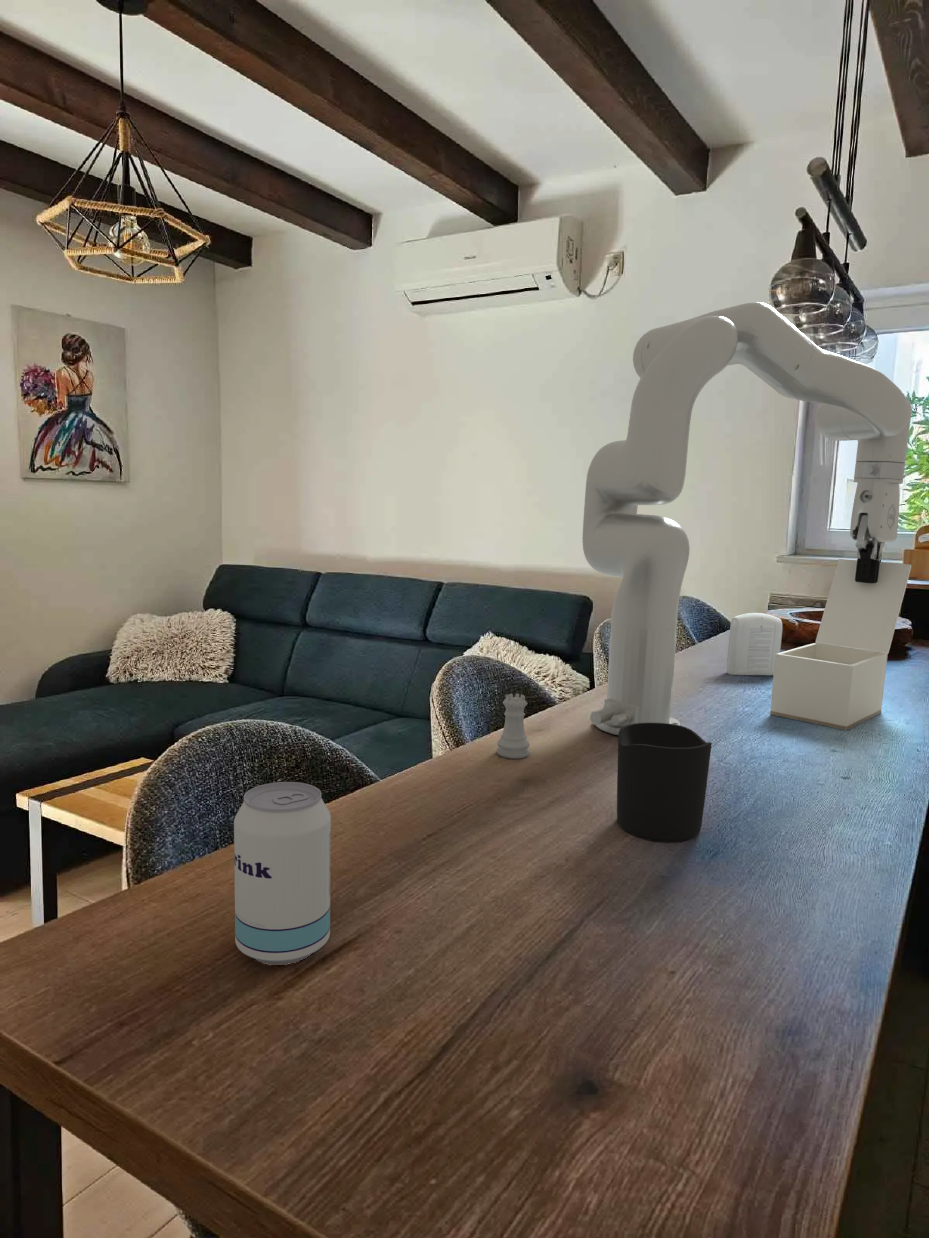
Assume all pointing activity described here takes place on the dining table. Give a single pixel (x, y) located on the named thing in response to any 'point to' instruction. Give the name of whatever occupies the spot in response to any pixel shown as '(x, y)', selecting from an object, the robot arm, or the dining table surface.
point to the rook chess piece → (513, 729)
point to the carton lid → (863, 607)
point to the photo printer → (753, 644)
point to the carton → (828, 685)
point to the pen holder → (661, 781)
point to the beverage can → (282, 872)
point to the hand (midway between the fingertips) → (866, 582)
